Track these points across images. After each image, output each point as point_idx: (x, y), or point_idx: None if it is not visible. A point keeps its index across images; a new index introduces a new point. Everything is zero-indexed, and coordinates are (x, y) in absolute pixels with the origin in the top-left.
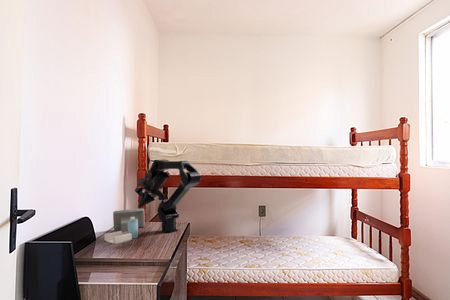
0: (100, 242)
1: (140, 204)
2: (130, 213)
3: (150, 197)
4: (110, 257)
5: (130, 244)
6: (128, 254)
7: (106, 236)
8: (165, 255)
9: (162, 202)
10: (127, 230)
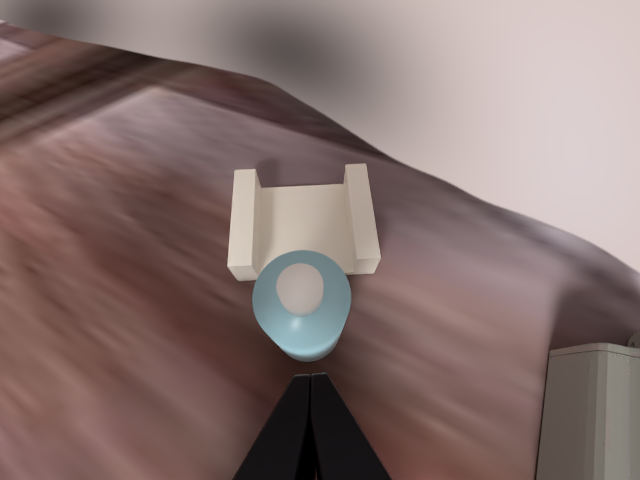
0: None
1: (273, 411)
2: None
3: None
4: (89, 117)
5: (169, 238)
6: (43, 166)
7: (345, 173)
8: None
9: None
10: (545, 397)
